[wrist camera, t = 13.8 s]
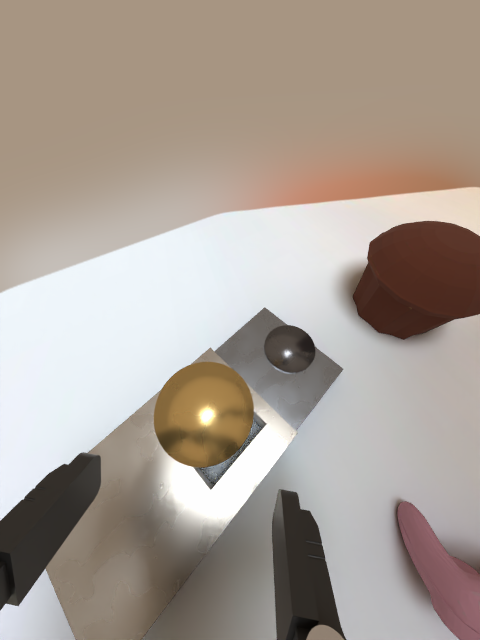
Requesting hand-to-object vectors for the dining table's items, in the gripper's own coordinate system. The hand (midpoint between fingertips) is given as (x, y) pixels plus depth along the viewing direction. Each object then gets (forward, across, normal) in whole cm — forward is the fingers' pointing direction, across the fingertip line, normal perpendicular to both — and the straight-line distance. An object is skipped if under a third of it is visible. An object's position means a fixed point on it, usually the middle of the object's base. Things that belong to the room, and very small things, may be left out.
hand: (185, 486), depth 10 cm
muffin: (+21, -18, -7) cm, 29 cm away
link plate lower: (+12, -3, +2) cm, 12 cm away
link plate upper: (+7, +2, +7) cm, 10 cm away
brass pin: (+9, 0, +5) cm, 10 cm away
